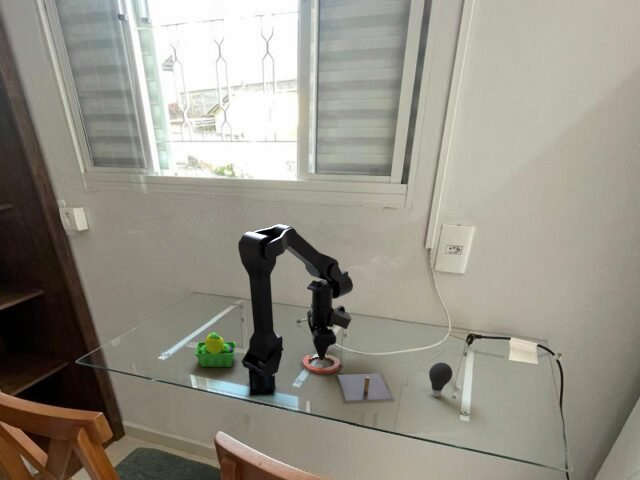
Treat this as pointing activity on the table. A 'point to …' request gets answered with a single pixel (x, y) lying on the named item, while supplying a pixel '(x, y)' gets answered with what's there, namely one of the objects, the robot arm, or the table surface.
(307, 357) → the ring
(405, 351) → the table surface
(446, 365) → the light bulb
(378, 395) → the peg stand
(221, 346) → the fruit basket
